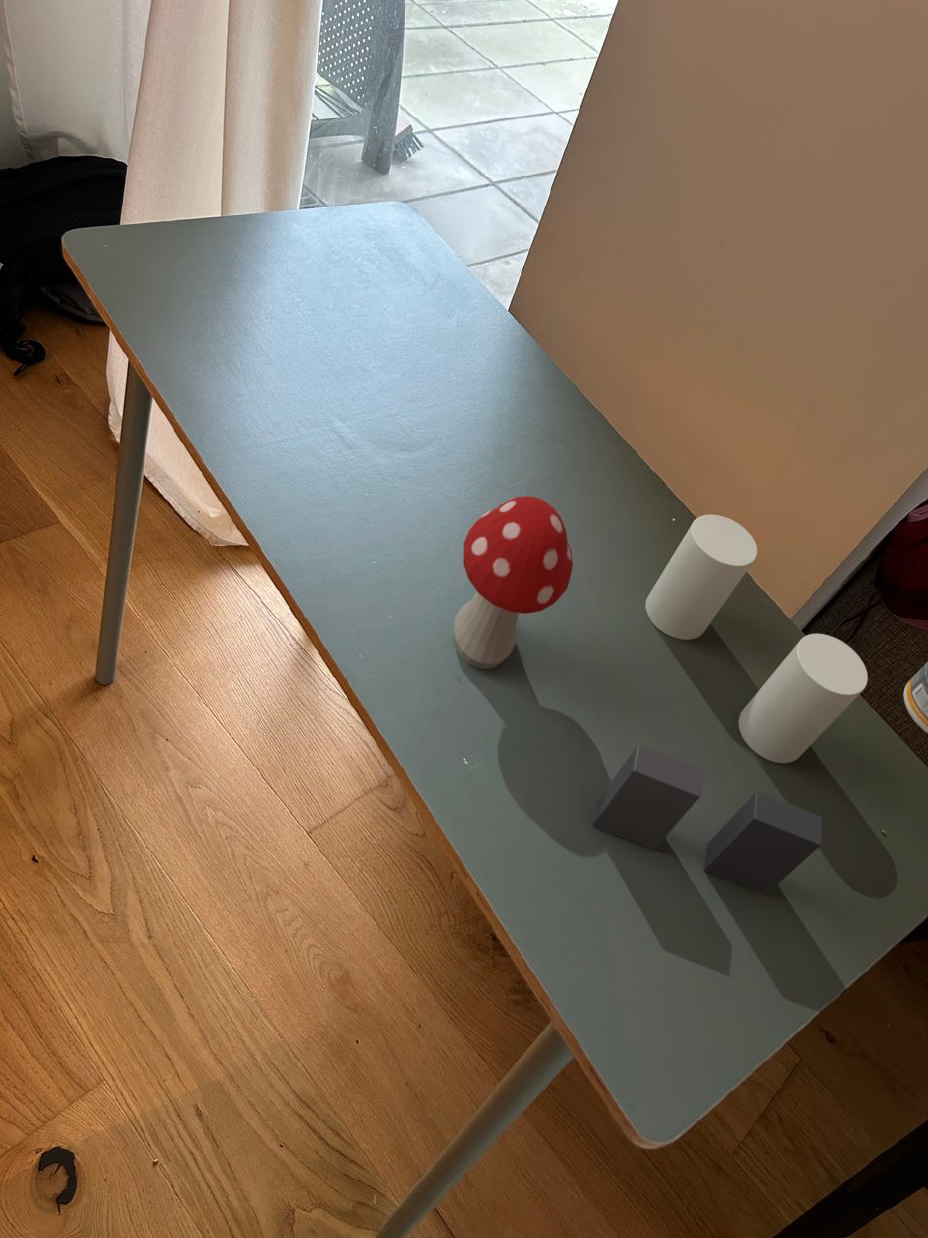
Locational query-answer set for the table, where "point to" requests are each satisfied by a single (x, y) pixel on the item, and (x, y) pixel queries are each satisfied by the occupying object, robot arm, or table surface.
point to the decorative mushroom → (510, 576)
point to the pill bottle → (918, 697)
